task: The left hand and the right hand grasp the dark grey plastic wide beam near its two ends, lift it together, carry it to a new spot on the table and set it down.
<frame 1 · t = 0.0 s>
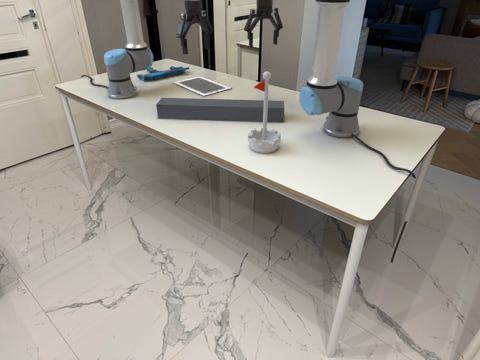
left hand: (196, 51, 157), 28 cm above the table, tool pointing down, fingers open, 13 cm apart
right hand: (263, 45, 167), 28 cm above the table, tool pointing down, fingers open, 13 cm apart
tablet: (201, 86, 203), on the table
flag stand: (264, 146, 137), on the table
wide beam: (221, 116, 164), on the table
submachine gun: (162, 74, 224), on the table
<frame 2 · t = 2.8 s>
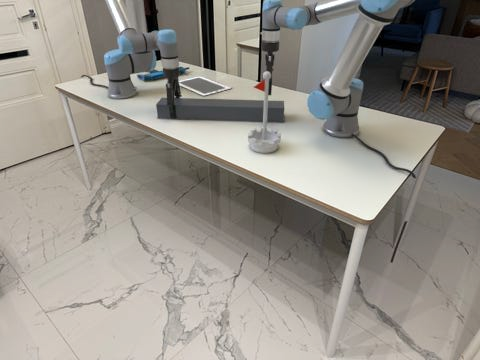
left hand: (176, 114, 165), 1 cm above the table, tool pointing down, fingers closed on wide beam, 10 cm apart
right hand: (268, 90, 155), 14 cm above the table, tool pointing down, fingers open, 13 cm apart
wide beam: (221, 116, 164), on the table, touching left hand
everything else where it was.
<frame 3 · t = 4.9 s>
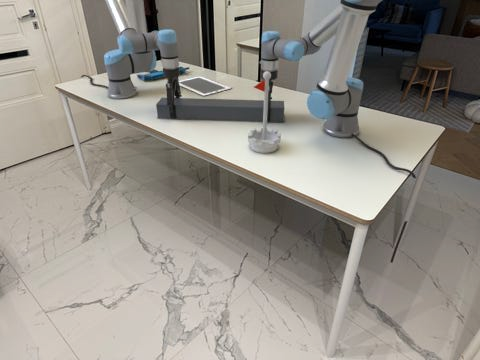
left hand: (176, 114, 165), 1 cm above the table, tool pointing down, fingers closed on wide beam, 10 cm apart
right hand: (267, 116, 162), 1 cm above the table, tool pointing down, fingers closed on wide beam, 10 cm apart
wide beam: (221, 116, 164), on the table, touching right hand, left hand
everything else where it was.
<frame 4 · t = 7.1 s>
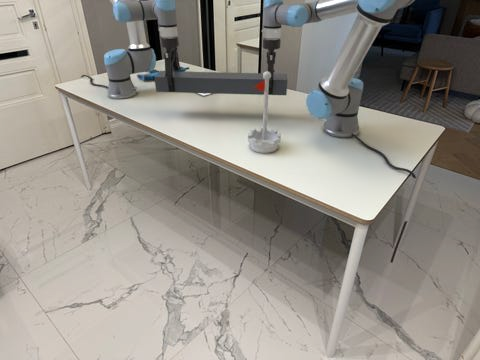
left hand: (174, 87, 159), 13 cm above the table, tool pointing down, fingers closed on wide beam, 9 cm apart
right hand: (269, 90, 156), 13 cm above the table, tool pointing down, fingers closed on wide beam, 10 cm apart
wide beam: (221, 90, 158), point 13 cm above the table, touching right hand, left hand
everything else where it was.
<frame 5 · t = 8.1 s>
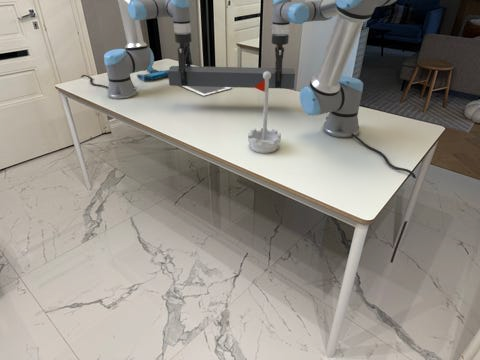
left hand: (186, 81, 167), 13 cm above the table, tool pointing down, fingers closed on wide beam, 10 cm apart
right hand: (277, 83, 163), 13 cm above the table, tool pointing down, fingers closed on wide beam, 10 cm apart
wide beam: (231, 84, 165), point 13 cm above the table, touching right hand, left hand
everything else where it was.
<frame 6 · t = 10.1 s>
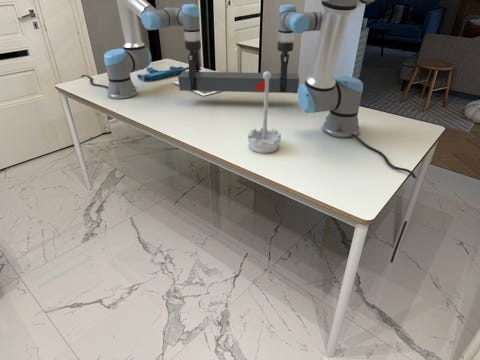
left hand: (195, 86, 175), 9 cm above the table, tool pointing down, fingers closed on wide beam, 9 cm apart
right hand: (282, 88, 172), 9 cm above the table, tool pointing down, fingers closed on wide beam, 9 cm apart
wide beam: (238, 88, 174), point 8 cm above the table, touching right hand, left hand
everything else where it was.
when the left hand's fingers open (2 cm above the table, at t = 11.8 s): wide beam stays where it is, on the table.
when the right hand's fingers open (2 cm above the table, at t = 11.8 s): wide beam stays where it is, on the table.
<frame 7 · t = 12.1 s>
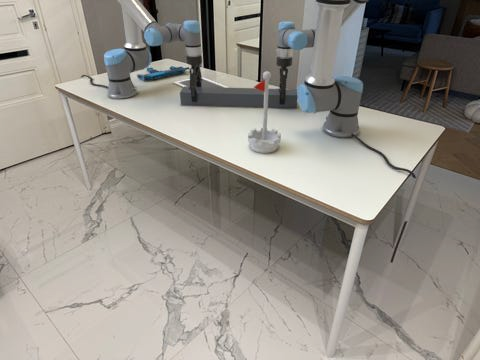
left hand: (197, 97, 178), 3 cm above the table, tool pointing down, fingers open, 13 cm apart
right hand: (281, 99, 175), 3 cm above the table, tool pointing down, fingers open, 13 cm apart
wide beam: (238, 103, 178), on the table
everything else where it was.
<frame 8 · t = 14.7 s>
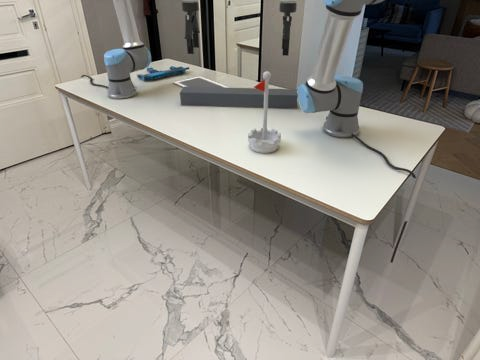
left hand: (193, 50, 165), 26 cm above the table, tool pointing down, fingers open, 13 cm apart
right hand: (284, 52, 162), 26 cm above the table, tool pointing down, fingers open, 13 cm apart
nothing on the table moved.
at the end: wide beam inside the target area (0.1 cm from its centre), on the table; wide beam tilted 0°; wide beam never tilted more than 1° during the clip; both hands held the wide beam at the same time; the left hand is holding nothing; the right hand is holding nothing; wide beam at rest at the end (0.0 cm/s) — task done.
